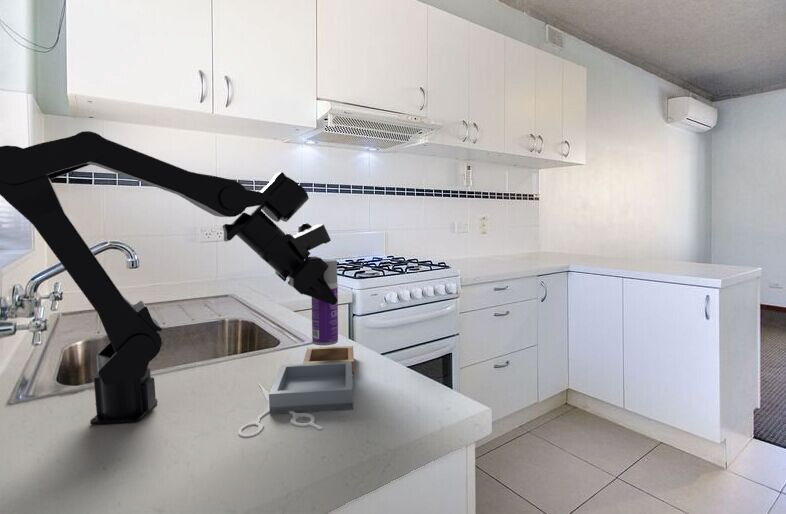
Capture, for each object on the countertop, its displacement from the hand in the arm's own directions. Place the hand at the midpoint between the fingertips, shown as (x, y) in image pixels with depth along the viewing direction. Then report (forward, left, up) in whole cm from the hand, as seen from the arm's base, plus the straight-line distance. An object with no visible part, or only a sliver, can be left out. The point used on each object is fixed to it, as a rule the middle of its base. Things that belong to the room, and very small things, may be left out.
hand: (332, 300), depth 78 cm
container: (-1, 0, -8) cm, 8 cm away
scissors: (-9, -14, -14) cm, 21 cm away
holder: (-1, +1, -13) cm, 13 cm away
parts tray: (-3, -11, -13) cm, 17 cm away
